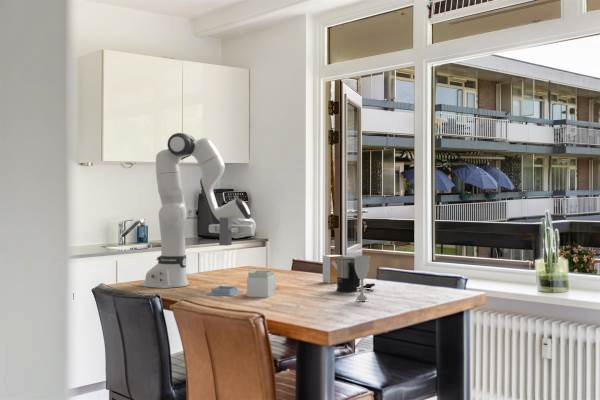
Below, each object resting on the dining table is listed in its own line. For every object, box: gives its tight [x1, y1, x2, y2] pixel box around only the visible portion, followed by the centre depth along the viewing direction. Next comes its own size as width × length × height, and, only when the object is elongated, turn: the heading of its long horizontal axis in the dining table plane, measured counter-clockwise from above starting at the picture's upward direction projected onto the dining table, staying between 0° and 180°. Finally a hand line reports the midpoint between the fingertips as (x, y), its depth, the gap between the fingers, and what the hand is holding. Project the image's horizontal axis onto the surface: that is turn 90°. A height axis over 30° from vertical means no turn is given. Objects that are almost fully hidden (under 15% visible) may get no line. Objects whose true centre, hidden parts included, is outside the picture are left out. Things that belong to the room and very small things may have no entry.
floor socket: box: [205, 285, 243, 297], centre depth 274 cm, size 12×12×2 cm
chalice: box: [353, 255, 371, 301], centre depth 254 cm, size 7×7×18 cm
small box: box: [322, 254, 344, 284], centre depth 305 cm, size 8×6×13 cm
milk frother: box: [336, 256, 376, 293], centre depth 280 cm, size 14×16×15 cm
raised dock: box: [246, 269, 276, 298], centre depth 269 cm, size 10×10×10 cm
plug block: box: [218, 217, 233, 246], centre depth 273 cm, size 4×4×12 cm
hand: (224, 230), depth 272 cm, fingers closed on plug block, 4 cm apart
